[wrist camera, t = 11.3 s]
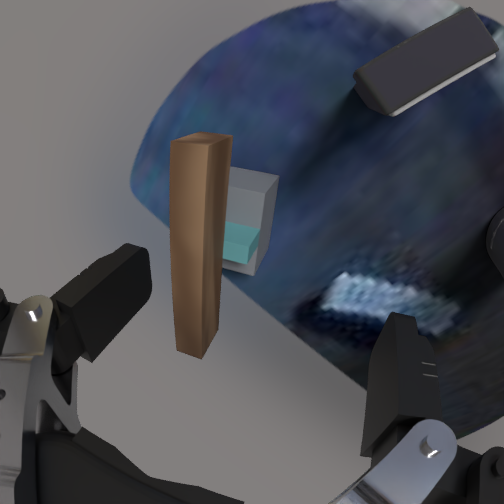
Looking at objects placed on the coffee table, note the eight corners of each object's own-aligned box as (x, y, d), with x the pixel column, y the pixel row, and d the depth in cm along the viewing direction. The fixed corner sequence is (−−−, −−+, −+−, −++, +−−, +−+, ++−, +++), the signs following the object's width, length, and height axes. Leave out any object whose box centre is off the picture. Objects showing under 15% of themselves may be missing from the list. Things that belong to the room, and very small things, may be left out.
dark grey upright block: (372, 114, 30) (392, 126, 17) (349, 82, 29) (353, 71, 16) (446, 69, 24) (507, 59, 12) (424, 37, 23) (472, 5, 11)
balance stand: (279, 175, 36) (254, 207, 27) (268, 247, 41) (243, 296, 32) (217, 164, 38) (173, 191, 28) (212, 234, 43) (174, 276, 34)
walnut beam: (233, 135, 24) (208, 145, 20) (218, 329, 36) (201, 359, 32) (200, 131, 25) (170, 141, 21) (195, 322, 36) (176, 350, 32)
